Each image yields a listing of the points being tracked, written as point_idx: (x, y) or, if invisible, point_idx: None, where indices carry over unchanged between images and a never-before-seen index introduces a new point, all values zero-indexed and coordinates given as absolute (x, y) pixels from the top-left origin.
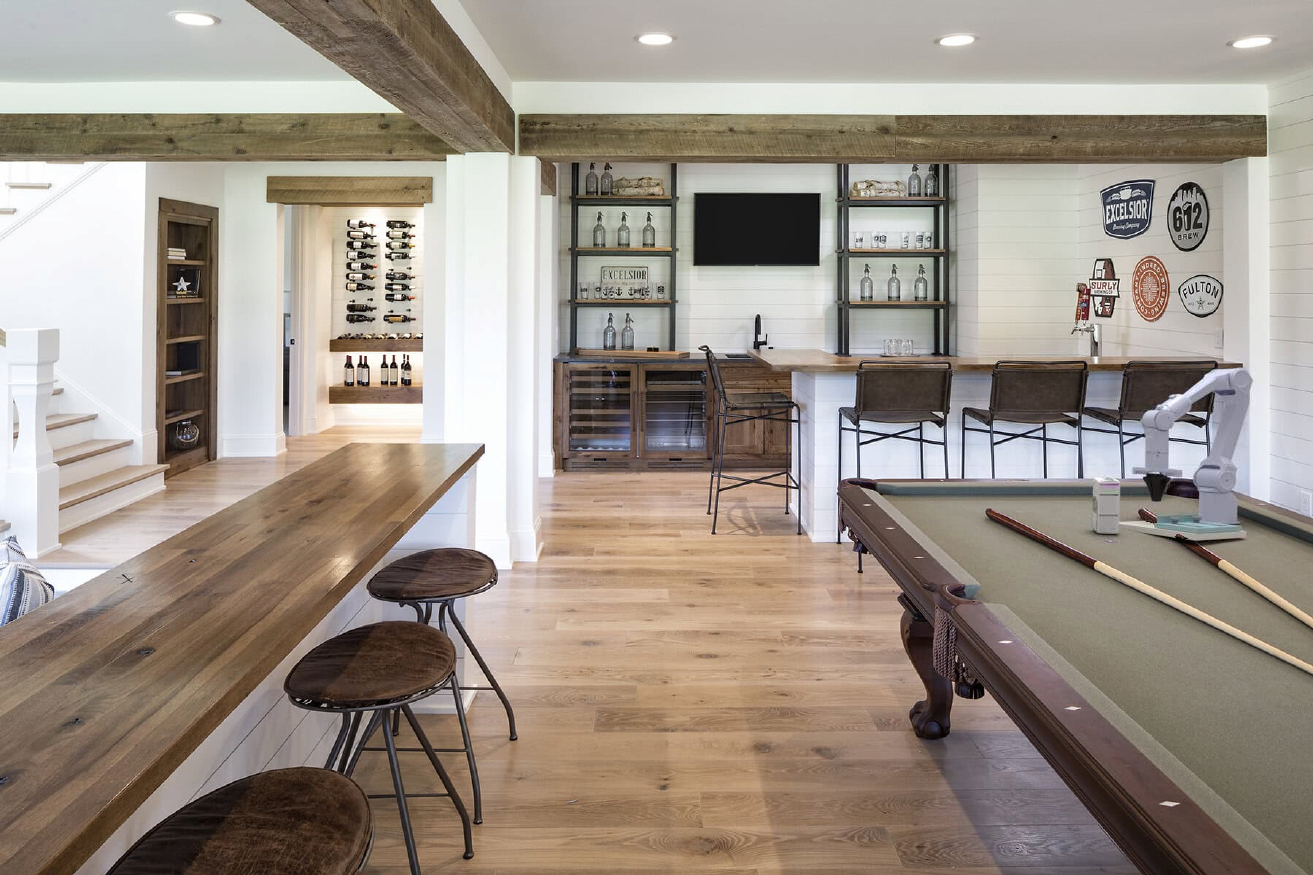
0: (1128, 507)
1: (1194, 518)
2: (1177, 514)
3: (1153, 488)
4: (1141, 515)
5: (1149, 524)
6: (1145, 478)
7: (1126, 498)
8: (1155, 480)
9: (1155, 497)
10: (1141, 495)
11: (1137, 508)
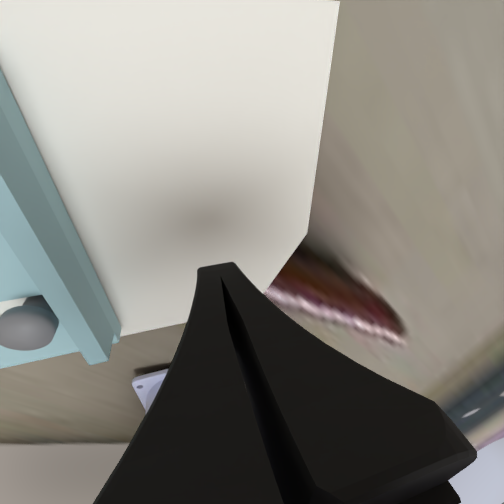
0: (435, 318)
1: (7, 312)
2: (56, 272)
3: (218, 340)
4: (358, 288)
5: (191, 167)
6: (388, 434)
7: (476, 364)
8: (139, 492)
9: (197, 284)
10: (460, 396)
11: (413, 330)
